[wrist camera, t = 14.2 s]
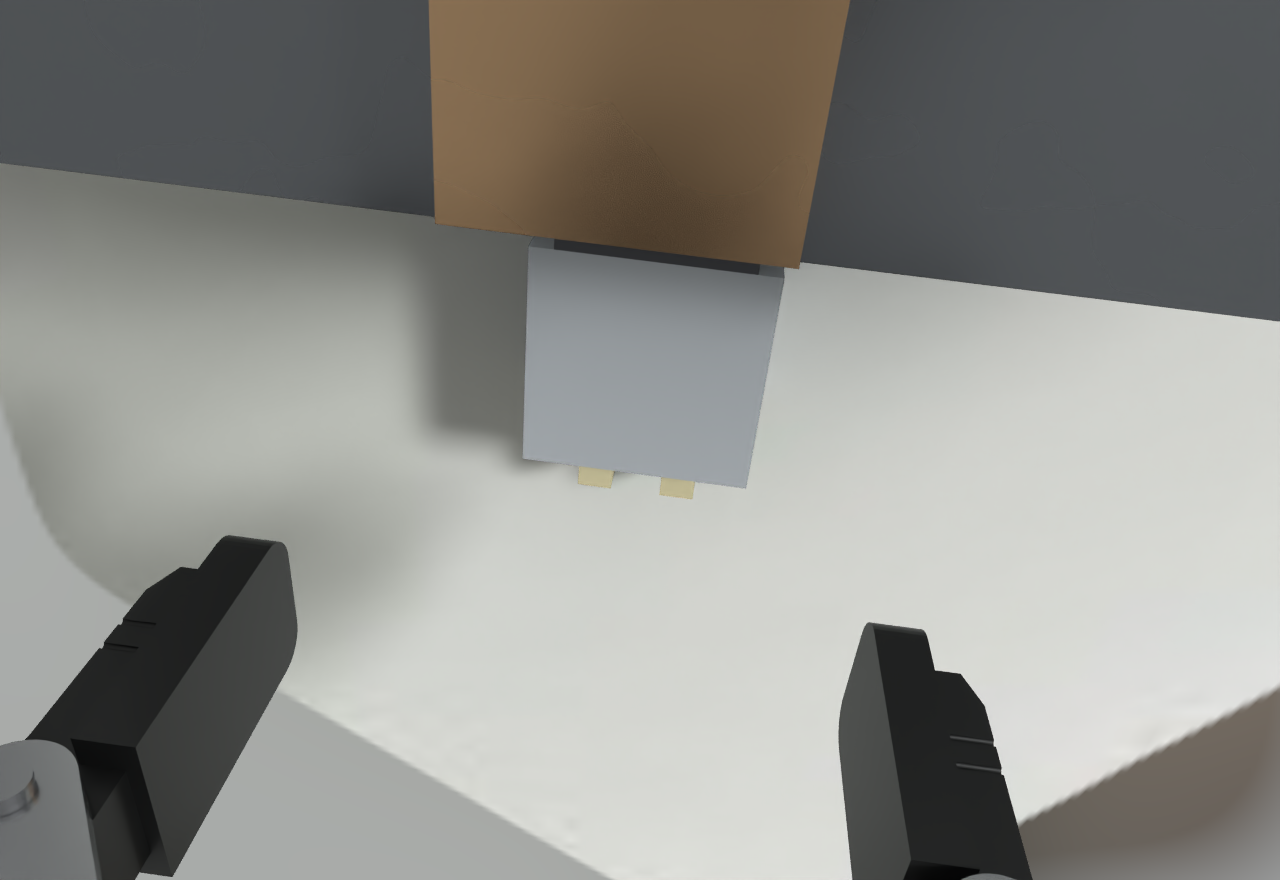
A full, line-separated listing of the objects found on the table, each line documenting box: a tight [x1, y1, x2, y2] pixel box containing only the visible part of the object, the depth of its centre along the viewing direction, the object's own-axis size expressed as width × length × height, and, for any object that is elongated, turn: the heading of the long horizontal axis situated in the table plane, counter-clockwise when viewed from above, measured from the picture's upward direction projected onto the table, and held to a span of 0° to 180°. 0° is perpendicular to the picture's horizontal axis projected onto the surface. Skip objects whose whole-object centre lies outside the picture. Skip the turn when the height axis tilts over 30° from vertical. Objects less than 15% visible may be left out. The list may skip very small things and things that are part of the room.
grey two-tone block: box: [523, 236, 784, 499], centre depth 18 cm, size 5×22×4 cm, turn 175°
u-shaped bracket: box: [0, 0, 1280, 321], centre depth 14 cm, size 17×4×12 cm, turn 85°
